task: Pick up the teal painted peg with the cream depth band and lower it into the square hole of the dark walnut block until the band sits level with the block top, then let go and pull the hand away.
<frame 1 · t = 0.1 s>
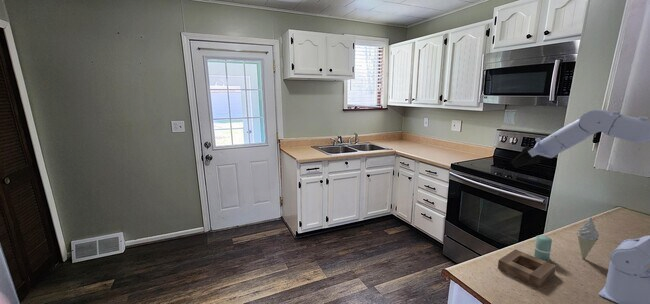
hand: (519, 163, 89), 32 cm above the table, tool tilted 50°, fingers open, 7 cm apart
ice cream cone: (583, 259, 90), on the table
peg: (541, 257, 91), on the table
stand: (525, 271, 84), on the table
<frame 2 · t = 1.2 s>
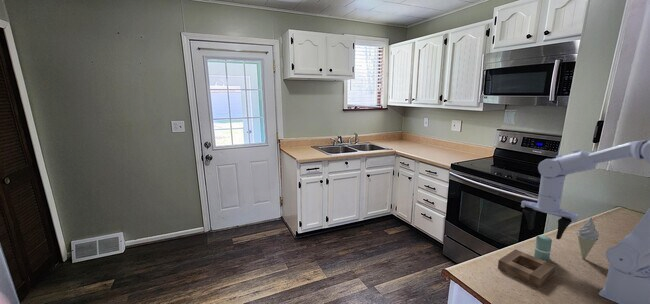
hand: (544, 233, 90), 9 cm above the table, tool pointing down, fingers open, 7 cm apart
nothing on the table moved.
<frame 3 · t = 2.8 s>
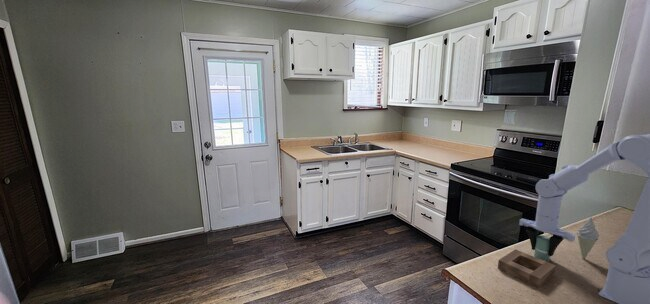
hand: (542, 252, 91), 2 cm above the table, tool pointing down, fingers closed on peg, 4 cm apart
peg: (541, 257, 91), on the table, touching gripper
everything else where it was.
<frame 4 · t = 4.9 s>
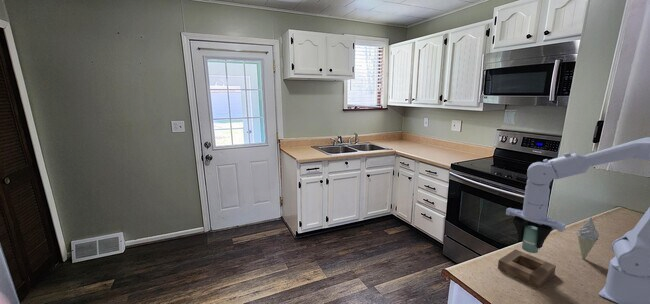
hand: (530, 243, 83), 9 cm above the table, tool pointing down, fingers closed on peg, 4 cm apart
peg: (529, 249, 84), point 7 cm above the table, touching gripper
everything else where it was.
when the fingers open (4 cm above the table, at t = 7.0 s): peg drops 2 cm, resting in stand.
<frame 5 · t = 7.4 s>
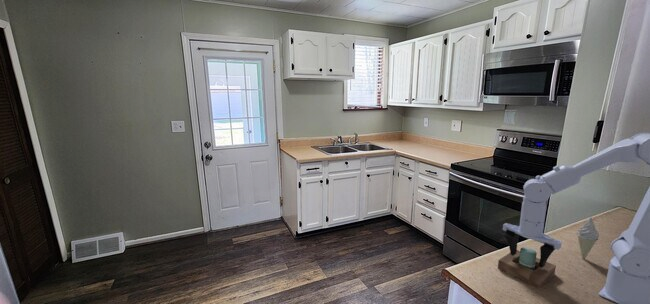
hand: (527, 259, 83), 4 cm above the table, tool pointing down, fingers open, 7 cm apart
peg: (525, 271, 84), resting in stand
everything else where it was.
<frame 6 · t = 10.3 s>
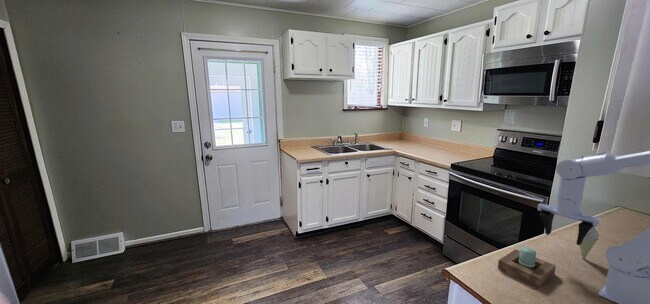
hand: (563, 238, 85), 9 cm above the table, tool pointing down, fingers open, 7 cm apart
nothing on the table moved.
at the end: peg 0.1 cm off-centre on the stand, point 0.0 cm above the stand's base; peg tilted 1°; the gripper is holding nothing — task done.
